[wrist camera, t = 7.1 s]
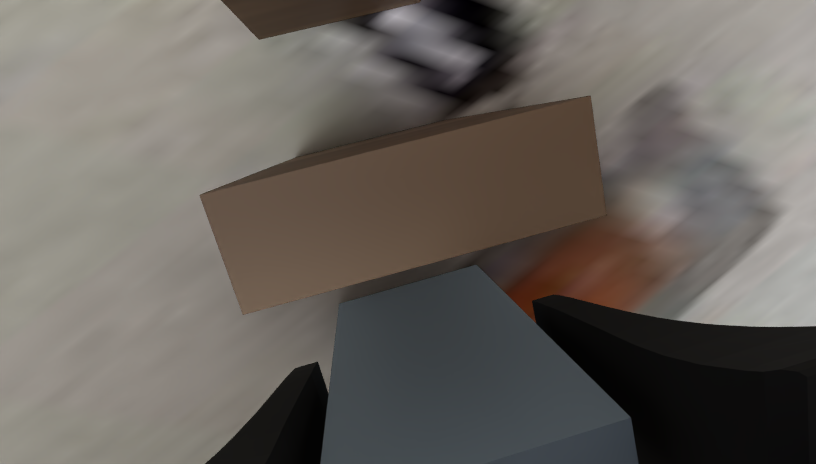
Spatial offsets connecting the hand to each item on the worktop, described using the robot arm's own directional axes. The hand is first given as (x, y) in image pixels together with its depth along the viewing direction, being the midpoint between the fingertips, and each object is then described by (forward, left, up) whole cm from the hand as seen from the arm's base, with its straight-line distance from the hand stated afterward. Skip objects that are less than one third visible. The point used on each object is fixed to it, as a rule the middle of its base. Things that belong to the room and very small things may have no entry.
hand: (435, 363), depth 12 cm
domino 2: (0, 0, -4) cm, 4 cm away
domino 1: (+5, 0, -4) cm, 7 cm away
